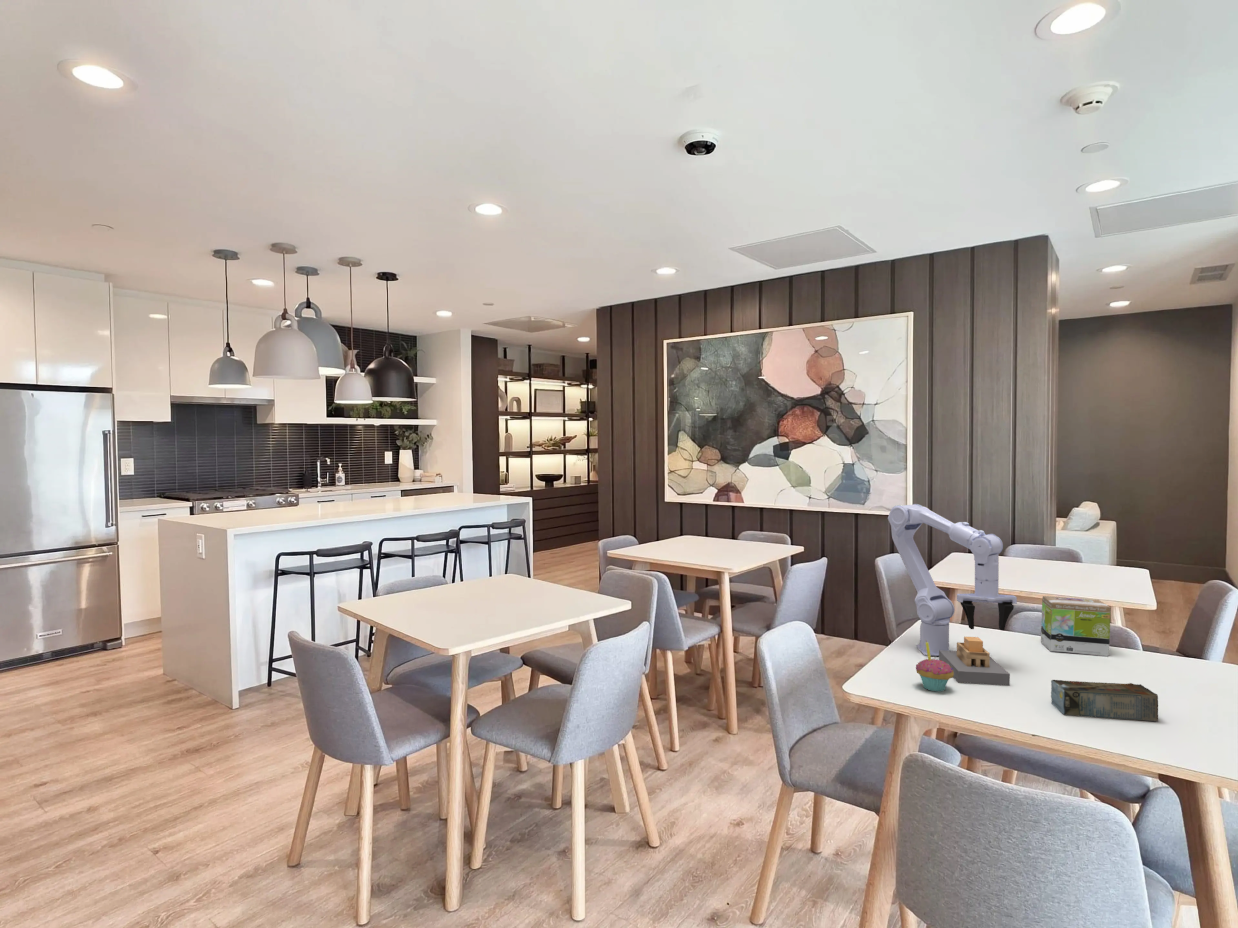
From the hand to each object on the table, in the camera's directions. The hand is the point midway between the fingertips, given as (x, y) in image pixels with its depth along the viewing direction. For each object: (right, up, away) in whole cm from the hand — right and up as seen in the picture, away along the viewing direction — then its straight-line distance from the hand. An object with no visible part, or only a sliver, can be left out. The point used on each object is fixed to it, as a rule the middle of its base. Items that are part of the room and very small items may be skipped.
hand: (986, 628), depth 188 cm
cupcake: (-21, -11, -16) cm, 29 cm away
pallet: (-6, -8, -5) cm, 11 cm away
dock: (-6, -11, -4) cm, 13 cm away
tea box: (+34, -10, +16) cm, 39 cm away
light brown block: (-6, -5, -5) cm, 9 cm away
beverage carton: (+10, -12, -31) cm, 35 cm away
